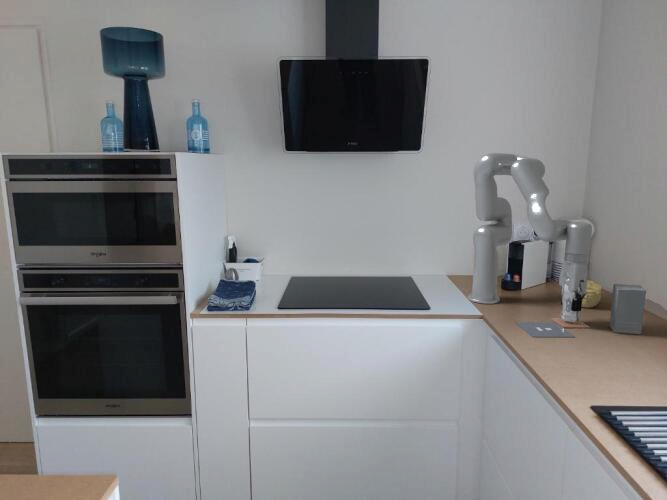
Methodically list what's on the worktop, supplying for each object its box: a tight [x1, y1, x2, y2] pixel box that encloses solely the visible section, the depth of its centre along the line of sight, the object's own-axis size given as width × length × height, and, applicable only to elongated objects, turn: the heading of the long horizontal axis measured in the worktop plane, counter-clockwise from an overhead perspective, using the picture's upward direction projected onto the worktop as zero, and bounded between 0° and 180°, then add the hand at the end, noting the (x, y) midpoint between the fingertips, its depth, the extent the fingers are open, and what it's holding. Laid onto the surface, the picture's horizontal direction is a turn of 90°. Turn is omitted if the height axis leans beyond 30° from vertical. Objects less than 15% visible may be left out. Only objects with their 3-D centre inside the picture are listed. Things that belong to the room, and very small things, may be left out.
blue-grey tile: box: [515, 321, 576, 338], centre depth 154 cm, size 14×14×1 cm
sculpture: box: [581, 279, 603, 309], centre depth 181 cm, size 12×12×11 cm
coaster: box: [550, 317, 590, 329], centre depth 160 cm, size 9×9×1 cm
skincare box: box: [609, 283, 647, 335], centre depth 152 cm, size 8×7×16 cm
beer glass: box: [559, 277, 581, 322], centre depth 158 cm, size 7×7×15 cm
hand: (570, 307), depth 159 cm, fingers closed on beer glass, 6 cm apart
